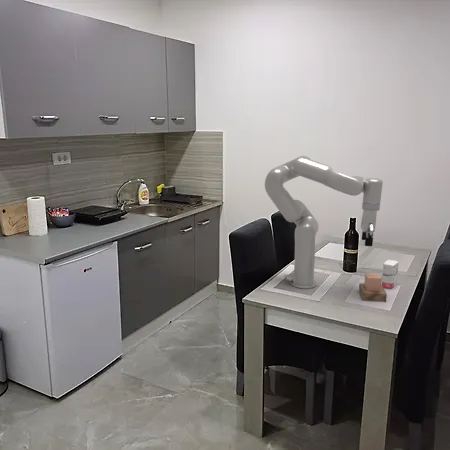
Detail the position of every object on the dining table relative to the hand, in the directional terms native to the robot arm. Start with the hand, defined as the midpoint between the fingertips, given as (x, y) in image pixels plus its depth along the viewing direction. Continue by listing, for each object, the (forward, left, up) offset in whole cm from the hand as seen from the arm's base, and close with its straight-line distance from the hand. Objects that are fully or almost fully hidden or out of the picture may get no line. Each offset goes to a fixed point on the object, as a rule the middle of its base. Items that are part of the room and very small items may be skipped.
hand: (366, 242), depth 201 cm
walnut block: (+3, -5, -24) cm, 25 cm away
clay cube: (+3, -5, -20) cm, 21 cm away
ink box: (+14, +9, -24) cm, 29 cm away
